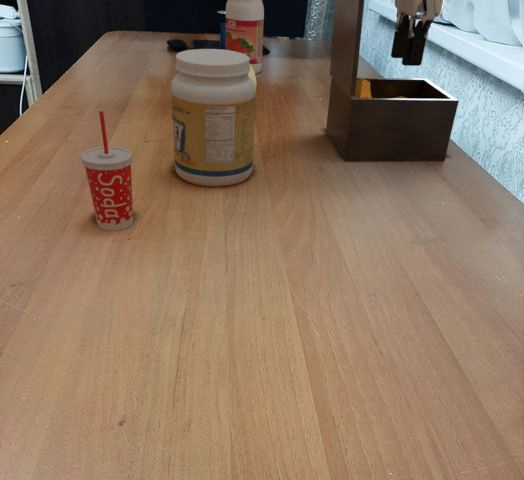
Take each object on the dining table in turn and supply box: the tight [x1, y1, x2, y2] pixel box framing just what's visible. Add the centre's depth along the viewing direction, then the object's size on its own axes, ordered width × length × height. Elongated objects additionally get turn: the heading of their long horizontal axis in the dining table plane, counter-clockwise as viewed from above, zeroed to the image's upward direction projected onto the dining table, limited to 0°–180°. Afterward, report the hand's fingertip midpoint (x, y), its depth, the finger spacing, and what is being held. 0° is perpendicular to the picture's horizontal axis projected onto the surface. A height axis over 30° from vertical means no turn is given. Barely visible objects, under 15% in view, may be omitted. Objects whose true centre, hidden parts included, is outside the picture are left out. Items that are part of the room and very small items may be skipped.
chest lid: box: [329, 0, 365, 96], centre depth 90 cm, size 18×15×5 cm
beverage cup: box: [80, 110, 134, 232], centre depth 70 cm, size 6×6×14 cm
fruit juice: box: [225, 0, 265, 75], centre depth 139 cm, size 9×9×28 cm
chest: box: [325, 76, 460, 162], centre depth 101 cm, size 18×15×10 cm
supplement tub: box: [170, 48, 256, 187], centre depth 85 cm, size 12×12×17 cm
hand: (405, 60), depth 95 cm, fingers open, 5 cm apart
